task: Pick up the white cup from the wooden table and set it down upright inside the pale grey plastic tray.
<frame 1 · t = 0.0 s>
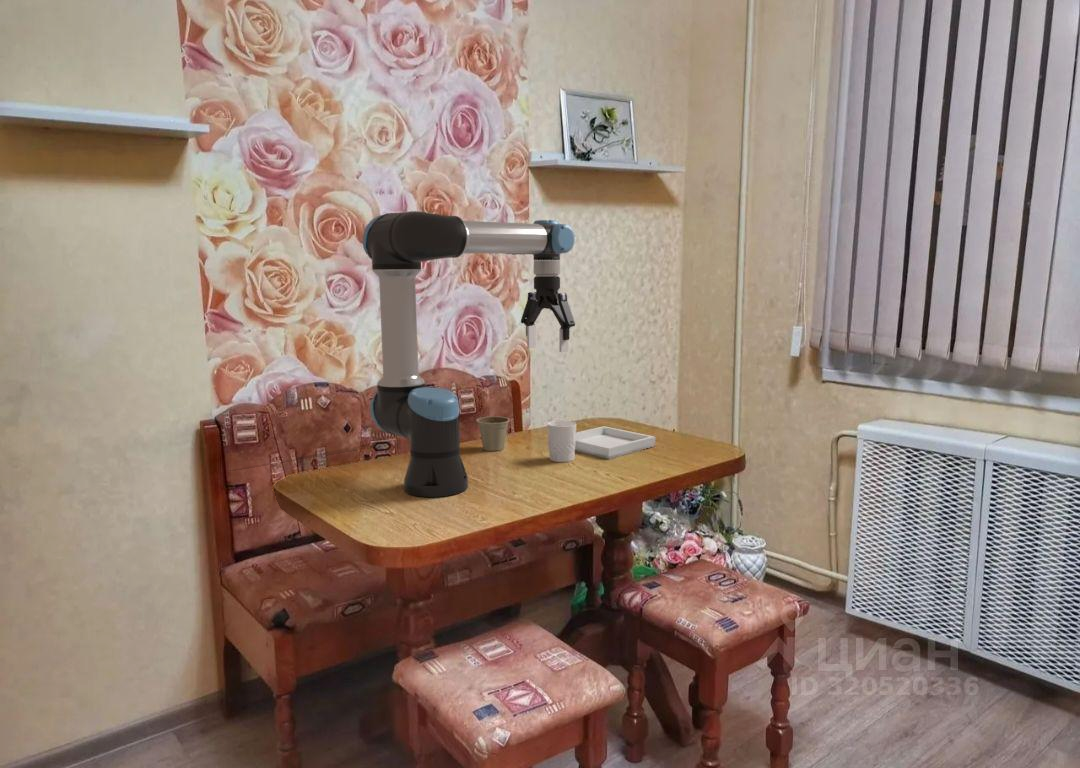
hand: (547, 349, 216), 28 cm above the table, fingers open, 13 cm apart
white cup: (562, 460, 203), on the table
flower pot: (493, 449, 215), on the table
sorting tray: (606, 446, 216), on the table
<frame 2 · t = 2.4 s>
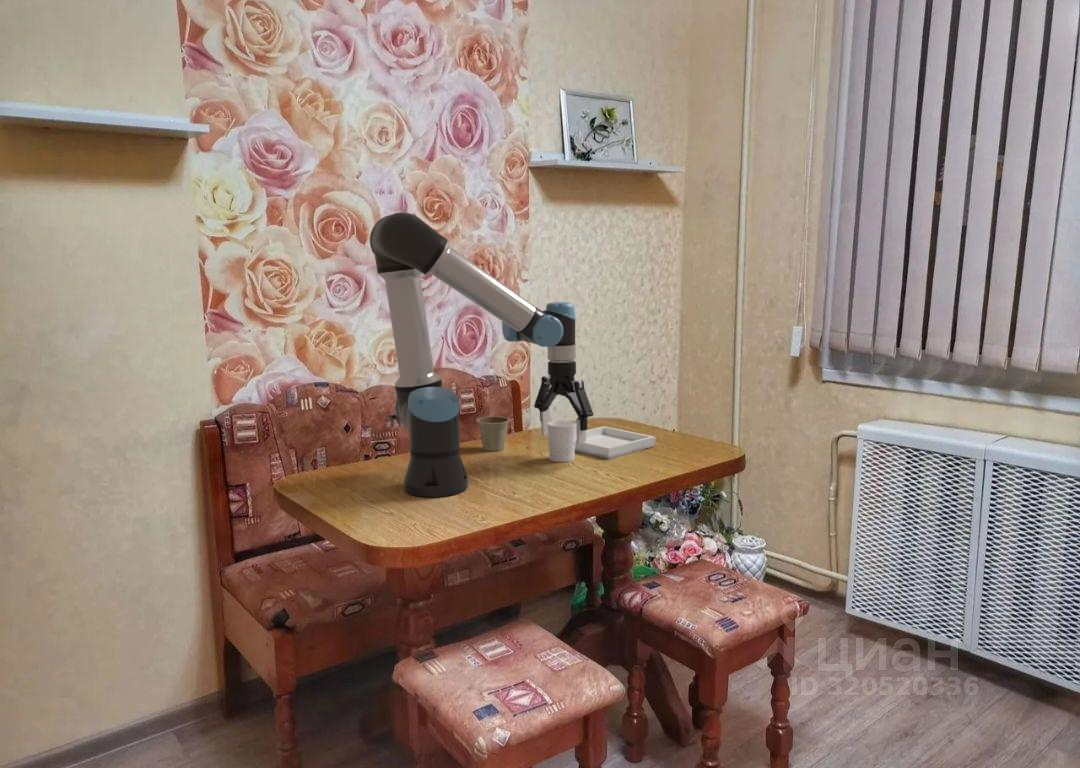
hand: (563, 438, 202), 6 cm above the table, fingers open, 13 cm apart
nothing on the table moved.
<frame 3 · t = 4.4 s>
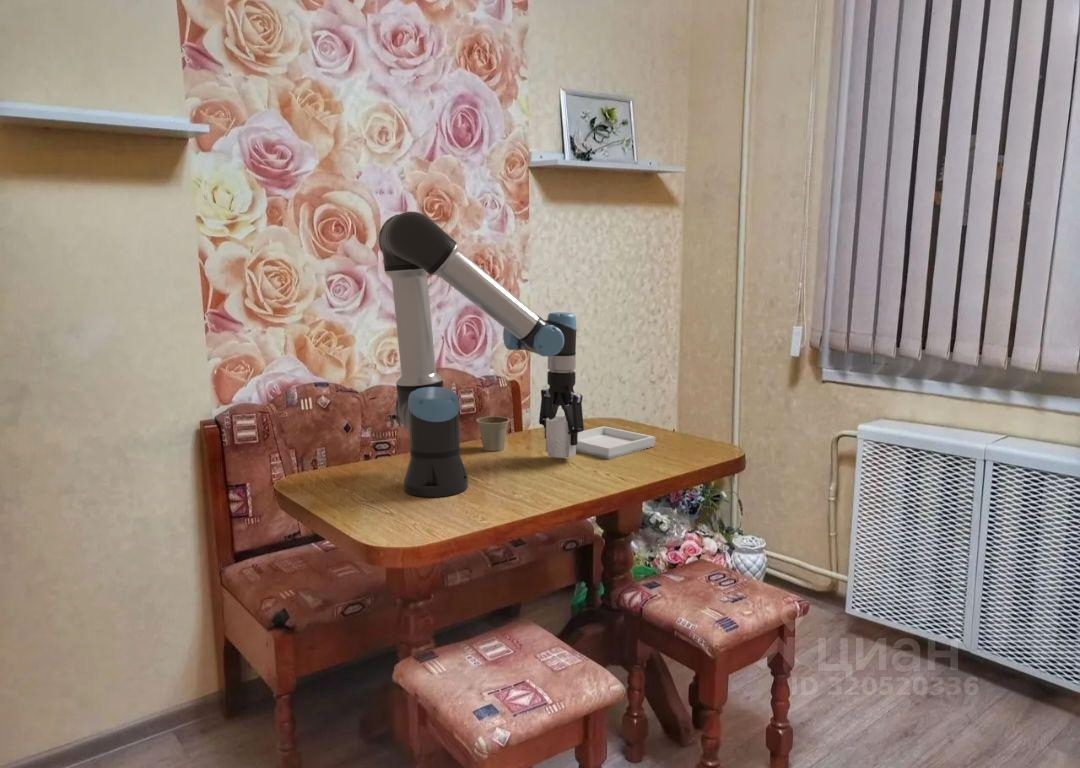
hand: (560, 453, 203), 2 cm above the table, fingers closed on white cup, 7 cm apart
white cup: (559, 455, 203), point 1 cm above the table, touching gripper
everything else where it was.
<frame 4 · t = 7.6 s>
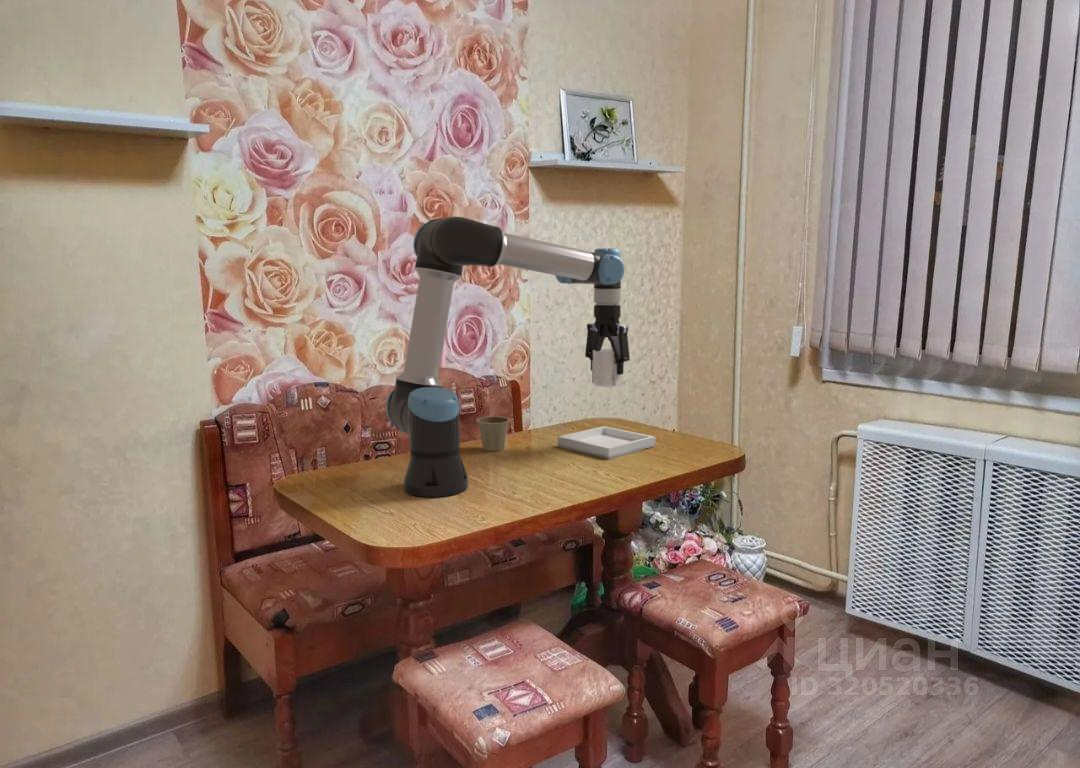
hand: (606, 384, 214), 18 cm above the table, fingers closed on white cup, 7 cm apart
white cup: (606, 385, 213), point 18 cm above the table, touching gripper
everything else where it was.
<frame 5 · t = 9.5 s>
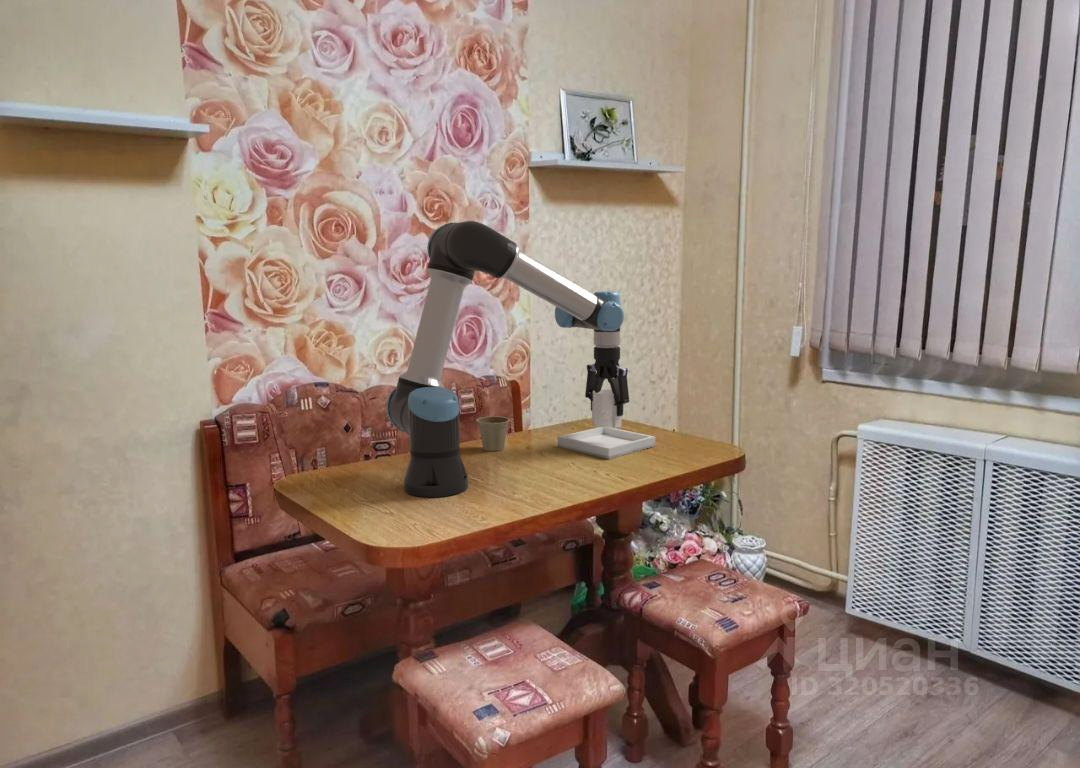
hand: (606, 424, 215), 7 cm above the table, fingers closed on white cup, 7 cm apart
white cup: (606, 426, 215), point 6 cm above the table, touching gripper
everything else where it was.
when the fingers open (2 cm above the table, at t = 11.0 s): white cup stays where it is, resting on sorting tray.
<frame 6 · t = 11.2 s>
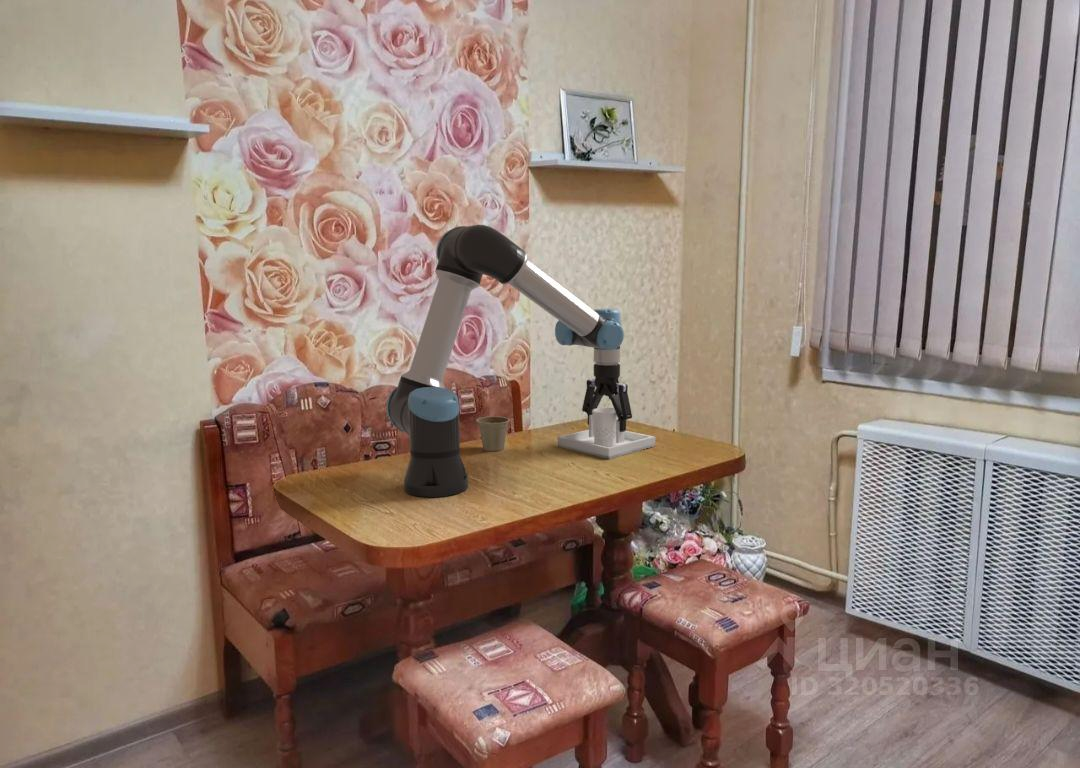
hand: (606, 439, 216), 2 cm above the table, fingers open, 10 cm apart
white cup: (605, 444, 216), point 1 cm above the table, touching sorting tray
everything else where it was.
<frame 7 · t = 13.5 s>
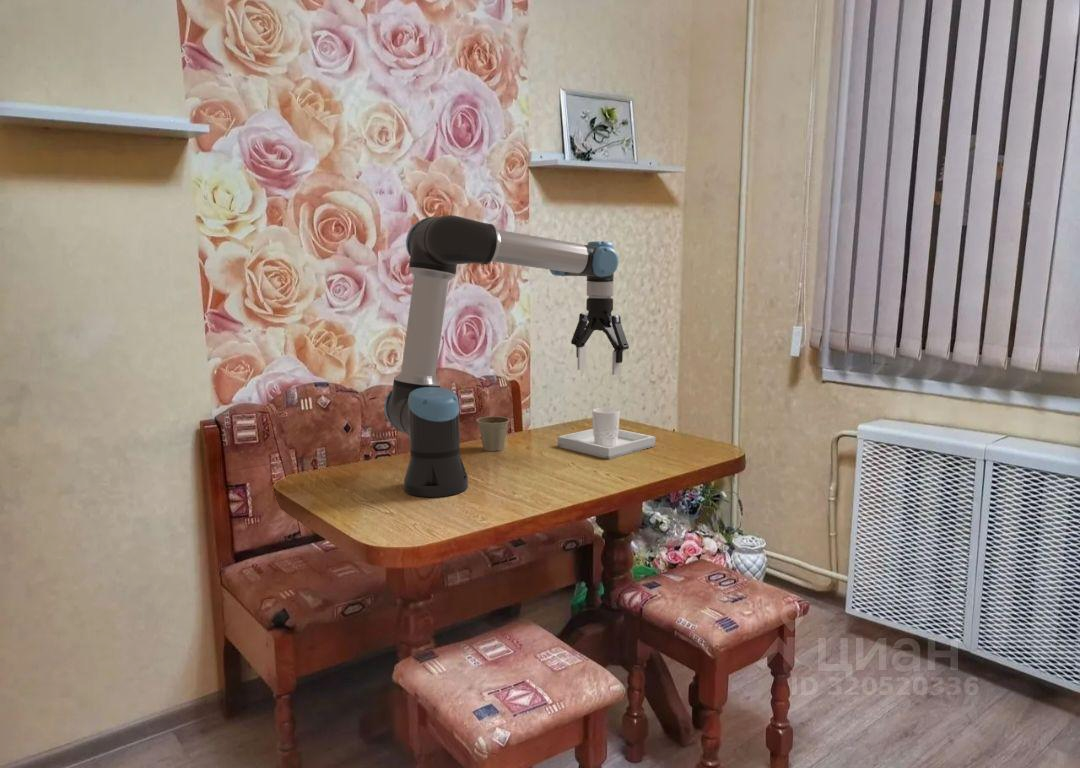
hand: (598, 372, 213), 22 cm above the table, fingers open, 13 cm apart
nothing on the table moved.
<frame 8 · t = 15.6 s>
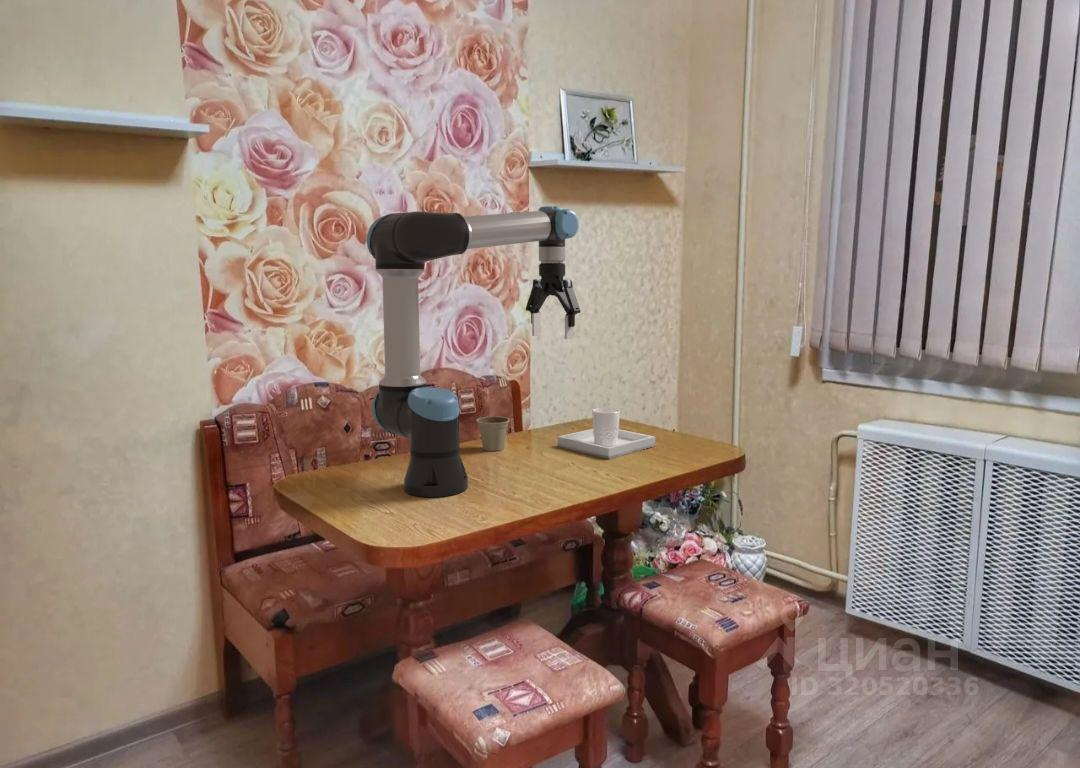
hand: (552, 337, 215), 32 cm above the table, fingers open, 13 cm apart
nothing on the table moved.
at the end: white cup inside the target area on the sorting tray (0.2 cm from its centre), point 0.6 cm above the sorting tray's base; white cup tilted 0°; the gripper is holding nothing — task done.
